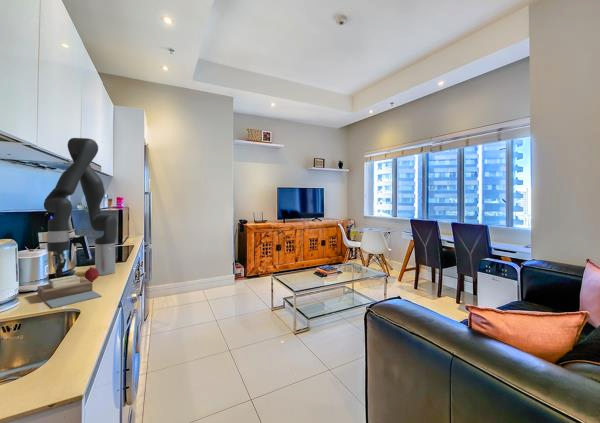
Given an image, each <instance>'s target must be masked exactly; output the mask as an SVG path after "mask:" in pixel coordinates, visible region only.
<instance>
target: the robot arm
mask: <svg viewBox="0 0 600 423" xmlns="http://www.w3.org/2000/svg"><path fill="white" fill-rule="evenodd" d="M67 150H68V153H69V155H70V158H71V160H72V164H70V165H69V167H68V168H66V169H65V170H64V171H63V172H62V173H61V175H60V177H59V178H58V181H57V183H56V184H55V187H54V188H53V189H52V190H51V192H49V194H47V196H46V198H44V202H43V208H44V210H45V211H46V212H48V213H54V214H53V217H52V218H50V219H48V220H47V235H46V237H47V238H46V239H47V240H46V244H47V251H48V252H50V253H51V252H52V254H51V260H52V266H53V268H54V270H55V271H54V272H55V273H54V276H55V278H56V279H57V278H62V277H63V269H65V266H66V264H67V263H66V262H67V258H66V253H64V252H67V251H69V249H70V233H69V220H70V217H71V214H72V210H73V205H72V202H71V201H70V199H68V198H67V197H69V196H72V195H74V193H75V191H76V189H77V186H78V184H79V183H80V186H81V189H82V193H83V195H84V198H85V202H86V207H87V212H88V217H89V222H90V227H91V228H92V230H94V232H95V231H96V232H103V235H102V236H100V237H96V238H95V239H94V253H95V254H94V257H95V258H94V261H95V262H94V266H95V267H94V268H95V269H97V270H98V272H99V276H106V275H107V274H108V275H112V274H114V272H115V273H116V239H117V232H118V231H117V230H118V228H117V227H118V221H117V218H116V216H115V215H112V214H102V211H101V203H102V201H103V198H104V197H105V193H106V190H105V187H104V182H103V180H102V178H101V177H100V175H99V174H98V173H97V172H96V171H95V170H94V168H93V167H92V166H91V163H92V161H93V160H95V159H94V158H96V156H97V154H98V152H99V145H98V143H97V142H96V140H95V139H91V138H87V137H86V138H85V137H71V138H70V139H68V141H67ZM111 273H112V274H111Z"/></svg>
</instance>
